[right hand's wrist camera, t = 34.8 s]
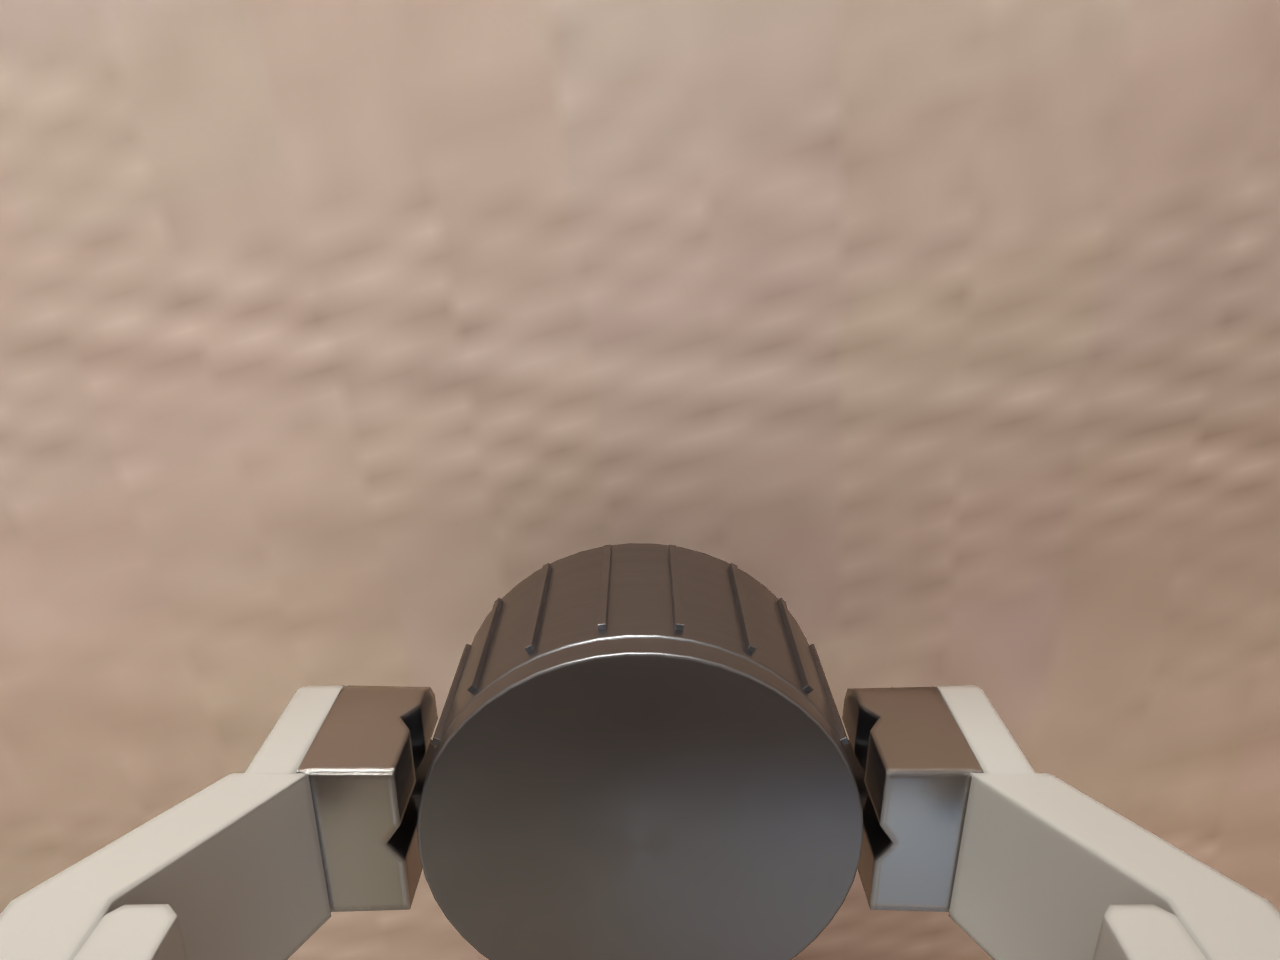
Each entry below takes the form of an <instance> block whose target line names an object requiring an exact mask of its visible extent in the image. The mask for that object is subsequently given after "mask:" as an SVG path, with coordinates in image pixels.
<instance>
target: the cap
mask: <svg viewBox="0 0 1280 960" xmlns="http://www.w3.org/2000/svg"><path fill="white" fill-rule="evenodd" d="M432 744H434V745H437V747H436V750H435V752H434V755H433V758H432V761H431V765H430V768H429V770H428V773H427V776H426V779H425V782H424V786H423V790H422V794H421V798H420V803H419V807H418V821H417V837H418V847H419V855H420V859H421V863H422V866H423V870H424V874H425V878H426V880H427V882H428V884H429V887H430V889H431V891H432V894H433V896H434V898H435V900H436V901H437V903H438V905H439V906H440V908H441V909H442V911H443V913H444V914H445V916H446V917H447V919H448V920H449V921H450V922H451V924H452V925H453V926H454V927H455V928H456V930H457V931H458V932H459V933H460V934H461V936H462V937H463V938H464V939H465V940H467V941H468V942H469V943H470V944H471V945H472V946H473V947H474V948H475V949H476V950H477V951H479V952H480V953H481V954H482V955H484V956H485V957H486V958H488V959H489V960H791V959H792V958H794V957H795V956H797V955H798V954H799V953H800V952H801V951H802V950H803V949H805V948H806V947H807V946H808V945H809V944H810V943H811V942H813V941H814V940H815V939H816V938H817V936H818V935H819V934H820V933H821V932H822V931H823V930H824V928H825V927H826V926H827V925H828V924H829V923H830V922H831V920H832V919H833V917H834V916H835V914H836V913H837V911H838V910H839V908H840V907H841V905H842V904H843V902H844V900H845V898H846V896H847V894H848V892H849V890H850V887H851V885H852V883H853V881H854V878H855V874H856V871H857V868H858V864H859V861H860V857H861V850H862V842H863V834H864V833H863V810H862V805H861V800H860V795H859V791H858V786H857V783H856V781H855V778H854V775H853V772H852V769H851V766H850V763H849V760H848V757H847V754H846V751H845V748H844V746H843V745H846V744H849V742H848V739H847V736H846V733H845V730H844V728H843V725H842V722H841V719H840V716H839V713H838V711H837V708H836V705H835V702H834V699H833V696H832V694H831V691H830V688H829V685H828V682H827V680H826V677H825V674H824V671H823V668H822V665H821V663H820V660H819V657H818V654H817V651H816V649H815V646H814V644H812V645H808V642H807V640H806V638H805V636H804V634H803V632H802V631H801V629H800V627H799V625H798V624H797V622H796V620H795V619H794V617H793V616H792V615H791V614H790V612H789V611H788V609H787V606H786V602H785V601H784V600H783V599H782V598H780V599H778V598H777V597H776V596H774V595H773V594H772V593H771V592H770V591H769V590H768V589H767V588H766V587H765V586H764V585H762V584H761V583H759V582H758V581H757V580H755V579H754V578H753V577H751V576H750V575H748V574H747V573H745V572H743V571H742V570H740V569H738V567H737V566H736V565H734V564H732V563H731V564H729V563H727V562H725V561H722V560H720V559H717V558H714V557H712V556H709V555H707V554H704V553H701V552H697V551H693V550H689V549H685V548H681V547H677V546H674V545H669V546H668V545H660V544H621V545H612V546H611V545H606V546H604V547H600V548H595V549H591V550H587V551H582V552H579V553H577V554H574V555H571V556H568V557H566V558H563V559H560V560H557V561H556V562H554V563H552V564H549V563H548V564H546V565H544V566H543V568H542V569H540V570H538V571H536V572H535V573H533V574H532V575H530V576H529V577H528V578H526V579H525V580H523V581H522V582H520V583H519V584H518V585H516V586H515V587H514V588H513V589H512V590H511V591H510V592H509V593H508V594H507V595H505V596H504V597H503V598H502V599H500V598H498V599H497V600H496V601H495V603H494V606H493V609H492V611H491V612H490V613H489V615H488V616H487V617H486V619H485V620H484V622H483V624H482V625H481V627H480V629H479V630H478V632H477V634H476V635H475V638H474V640H473V642H472V645H468V644H466V646H465V648H464V651H463V654H462V657H461V660H460V663H459V665H458V668H457V671H456V674H455V677H454V680H453V683H452V686H451V688H450V691H449V694H448V697H447V700H446V703H445V706H444V709H443V712H442V714H441V717H440V720H439V723H438V726H437V729H436V732H435V735H434V738H433V740H432Z"/></svg>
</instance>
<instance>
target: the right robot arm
mask: <svg viewBox="0 0 1280 960" xmlns="http://www.w3.org/2000/svg"><path fill="white" fill-rule="evenodd" d="M437 719H438V716H437V709H436V701H435V694H434V693H433V691H432V689H431V688H430V687H391V686H347V687H346V686H343V685H316V686H304V687H302V688H299V689H298V690H297V691H296V692H295V694H294V695H293V697H292V699H291V700H290V702H289V703H288V705H287V706H286V708H285V710H284V711H283V713H282V714H281V716H280V717H279V719H278V721H277V722H276V724H275V725H274V727H273V728H272V730H271V732H270V733H269V735H268V736H267V738H266V739H265V741H264V743H263V744H262V746H261V747H260V749H259V750H258V752H257V754H256V755H255V757H254V758H253V760H252V761H251V763H250V765H249V766H248V768H247V769H246V771H245V772H244V773H231V774H229V775H227V776H225V777H224V778H222V779H220V780H219V781H217V782H215V783H213V784H212V785H210V786H208V787H206V788H205V789H203V790H201V791H200V792H198V793H196V794H194V795H193V796H191V797H189V798H188V799H186V800H184V801H182V802H181V803H179V804H177V805H175V806H174V807H172V808H170V809H169V810H167V811H165V812H163V813H162V814H160V815H158V816H156V817H155V818H153V819H151V820H150V821H148V822H146V823H144V824H143V825H141V826H139V827H138V828H136V829H134V830H132V831H131V832H129V833H127V834H125V835H124V836H122V837H120V838H119V839H117V840H115V841H113V842H112V843H110V844H108V845H106V846H105V847H103V848H101V849H100V850H98V851H96V852H94V853H93V854H91V855H89V856H88V857H86V858H84V859H82V860H81V861H79V862H77V863H75V864H74V865H72V866H70V867H69V868H67V869H65V870H63V871H62V872H60V873H58V874H56V875H55V876H53V877H51V878H50V879H48V880H46V881H44V882H43V883H41V884H39V885H38V886H36V887H34V888H32V889H31V890H29V891H27V892H25V893H24V894H22V895H20V896H19V897H17V898H15V899H13V900H12V901H11V902H10V903H9V904H8V905H7V907H6V908H5V909H4V910H3V911H2V913H1V914H0V960H287V959H288V958H289V957H290V956H291V955H292V954H293V953H294V952H295V951H296V950H297V949H298V948H299V947H300V946H301V945H302V944H303V943H304V942H305V941H306V940H307V939H308V938H309V937H311V936H312V935H313V934H314V933H315V932H316V931H317V930H318V929H319V928H320V927H321V926H322V925H323V924H324V923H325V922H326V921H327V920H328V919H329V918H330V917H331V912H339V911H374V910H408V909H410V908H411V904H412V901H413V898H414V895H415V891H416V888H417V885H418V882H419V878H420V875H421V872H422V869H423V866H422V863H421V859H420V855H419V847H418V837H417V821H418V807H419V803H420V798H421V794H422V790H423V786H424V782H425V779H426V776H427V773H428V770H429V768H430V765H431V761H432V758H433V755H434V752H435V750H436V747H437V745H434V744H432V740H431V737H432V734H433V731H434V728H435V725H436V722H437ZM842 719H843V722H844V725H845V728H846V731H847V733H848V736H849V740H848V742H849V744H846V745H843V746H844V748H845V751H846V754H847V757H848V760H849V763H850V766H851V769H852V772H853V775H854V778H855V781H856V783H857V786H858V791H859V795H860V800H861V805H862V810H863V833H864V834H863V842H862V850H861V857H860V861H859V864H858V872H859V875H860V878H861V881H862V884H863V888H864V891H865V894H866V897H867V900H868V904H869V907H870V910H905V911H940V912H949V916H950V917H951V918H952V919H953V920H954V921H955V922H956V923H957V924H958V925H959V926H960V927H961V928H962V929H963V930H964V931H965V932H966V933H967V934H968V935H969V936H970V937H971V938H972V939H973V940H974V941H975V942H976V943H977V944H978V945H979V946H980V947H981V948H982V949H983V950H984V951H985V952H986V953H987V954H988V955H989V956H990V957H991V958H992V959H993V960H1280V913H1279V912H1278V911H1277V910H1276V908H1275V907H1274V906H1273V905H1272V903H1271V902H1269V901H1268V900H1266V899H1264V898H1263V897H1261V896H1259V895H1257V894H1256V893H1254V892H1252V891H1251V890H1249V889H1247V888H1245V887H1244V886H1242V885H1240V884H1239V883H1237V882H1235V881H1233V880H1232V879H1230V878H1228V877H1227V876H1225V875H1223V874H1221V873H1220V872H1218V871H1216V870H1214V869H1213V868H1211V867H1209V866H1208V865H1206V864H1204V863H1202V862H1201V861H1199V860H1197V859H1196V858H1194V857H1192V856H1190V855H1189V854H1187V853H1185V852H1184V851H1182V850H1180V849H1178V848H1177V847H1175V846H1173V845H1172V844H1170V843H1168V842H1166V841H1165V840H1163V839H1161V838H1159V837H1158V836H1156V835H1154V834H1153V833H1151V832H1149V831H1147V830H1146V829H1144V828H1142V827H1141V826H1139V825H1137V824H1135V823H1134V822H1132V821H1130V820H1129V819H1127V818H1125V817H1123V816H1122V815H1120V814H1118V813H1117V812H1115V811H1113V810H1111V809H1110V808H1108V807H1106V806H1104V805H1103V804H1101V803H1099V802H1098V801H1096V800H1094V799H1092V798H1091V797H1089V796H1087V795H1086V794H1084V793H1082V792H1080V791H1079V790H1077V789H1075V788H1074V787H1072V786H1070V785H1068V784H1067V783H1065V782H1063V781H1062V780H1060V779H1058V778H1056V777H1055V776H1053V775H1051V774H1049V773H1036V772H1035V771H1034V769H1033V768H1032V766H1031V765H1030V763H1029V761H1028V760H1027V758H1026V757H1025V755H1024V754H1023V752H1022V751H1021V749H1020V747H1019V746H1018V744H1017V743H1016V741H1015V740H1014V738H1013V737H1012V735H1011V734H1010V732H1009V730H1008V729H1007V727H1006V726H1005V724H1004V723H1003V721H1002V720H1001V718H1000V716H999V715H998V713H997V712H996V710H995V709H994V707H993V706H992V704H991V702H990V701H989V699H988V698H987V696H986V695H985V693H984V692H983V690H982V689H981V688H979V687H978V686H976V685H955V686H933V687H905V688H850V689H847V693H846V696H845V700H844V708H843V717H842Z"/></svg>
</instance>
